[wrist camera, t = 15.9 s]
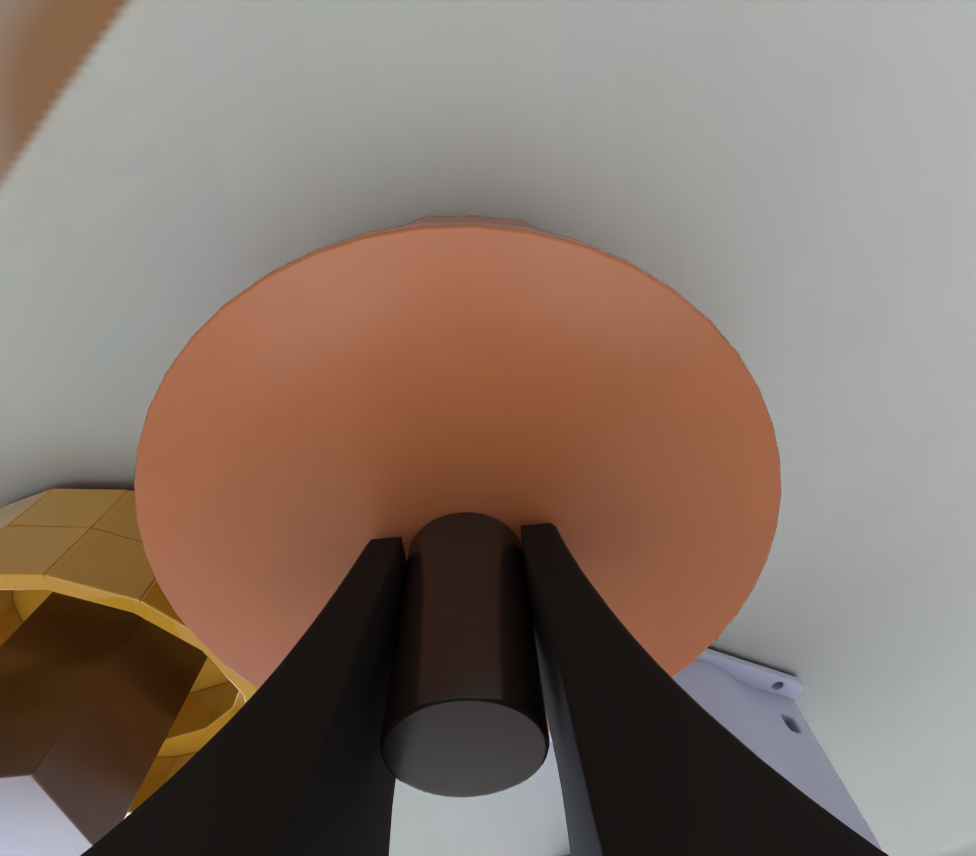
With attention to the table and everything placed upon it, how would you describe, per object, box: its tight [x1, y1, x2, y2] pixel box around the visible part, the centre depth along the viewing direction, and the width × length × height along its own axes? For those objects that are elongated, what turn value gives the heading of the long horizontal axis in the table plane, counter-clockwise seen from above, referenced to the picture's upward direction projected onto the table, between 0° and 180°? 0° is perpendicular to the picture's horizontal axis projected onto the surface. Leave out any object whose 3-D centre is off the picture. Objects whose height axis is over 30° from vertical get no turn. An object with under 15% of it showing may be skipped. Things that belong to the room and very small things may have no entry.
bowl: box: [0, 488, 258, 819], centre depth 18 cm, size 12×12×4 cm
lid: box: [134, 222, 781, 797], centre depth 10 cm, size 13×13×5 cm
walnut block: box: [0, 592, 207, 856], centre depth 17 cm, size 4×4×7 cm
